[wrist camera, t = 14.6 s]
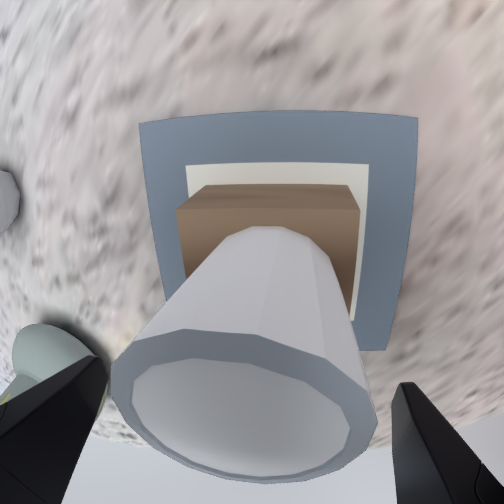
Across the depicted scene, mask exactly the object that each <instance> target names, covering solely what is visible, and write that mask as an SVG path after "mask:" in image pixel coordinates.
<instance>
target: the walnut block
mask: <svg viewBox="0 0 504 504" xmlns="http://www.w3.org/2000/svg"><path fill="white" fill-rule="evenodd" d="M176 216H177V223H178V230H179V237H180V244H181V250H182V257H183V263H184V269H185V275H186V280H187V279H188V278H189V277H190V276H191V274H192V273H193V272H194V271H195V270H196V269H197V268H198V267H199V266H200V265H201V263H202V262H203V261H204V260H205V259H206V258H207V257H208V256H209V255H210V254H211V253H212V252H213V251H214V249H215V248H216V247H217V246H218V245H219V244H220V243H221V242H222V241H223V240H224V239H225V238H226V237H227V236H229V235H232V234H234V233H237V232H239V231H242V230H244V229H247V228H249V227H252V226H280V227H284V228H287V229H289V230H292V231H294V232H297V233H299V234H302V235H304V236H307V237H309V238H310V239H311V240H312V241H313V242H314V243H315V244H316V245H317V246H318V247H319V248H320V249H321V250H322V251H324V252H325V253H326V254H327V255H328V256H329V258H330V261H331V264H332V266H333V269H334V271H335V274H336V277H337V279H338V282H339V285H340V288H341V291H342V295H343V298H344V301H345V304H346V307H347V311H348V314H349V317H350V309H351V302H352V294H353V286H354V278H355V268H356V259H357V248H358V237H359V224H360V208H359V206H358V204H357V202H356V200H355V198H354V196H353V195H352V193H351V191H350V189H349V187H348V185H335V184H225V185H205V186H204V187H203V188H201V189H200V190H199V191H197V192H196V193H195V194H194V195H193V196H191V197H190V198H189V199H188V200H186V201H185V202H184V203H183V204H181V205H180V206H179V207H178V208H177V209H176Z"/></svg>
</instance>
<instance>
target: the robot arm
mask: <svg viewBox="0 0 504 504" xmlns="http://www.w3.org/2000/svg"><path fill="white" fill-rule="evenodd" d="M108 379H109V375H108V372H107V370H106V368H105V366H104V363H103V361H102V359H101V358H100V357H98V356H94V355H87V356H85V357H84V358H82V359H80V360H78V361H77V362H75V363H73V364H72V365H70V366H68V367H66V368H65V369H63V370H61V371H59V372H58V373H56V374H54V375H52V376H51V377H49V378H47V379H45V380H44V381H42V382H40V383H38V384H37V385H35V386H33V387H31V388H30V389H28V390H26V391H24V392H23V393H21V394H19V395H17V396H16V397H14V398H12V399H10V400H9V401H8V402H5V403H3V404H1V405H0V504H61V503H62V500H63V497H64V495H65V492H66V489H67V487H68V484H69V482H70V479H71V476H72V474H73V471H74V469H75V466H76V464H77V461H78V459H79V457H80V454H81V452H82V449H83V447H84V445H85V442H86V440H87V438H88V435H89V433H90V431H91V428H92V426H93V424H94V421H95V419H96V416H97V413H98V411H99V407H100V404H101V401H102V398H103V395H104V392H105V389H106V386H107V383H108ZM391 412H392V455H393V465H394V474H395V484H396V495H397V504H504V487H503V486H502V485H501V484H500V483H499V482H498V480H497V479H496V478H495V477H494V476H493V475H492V474H491V472H490V471H489V470H488V469H487V468H486V466H485V465H484V464H483V463H482V464H481V460H480V459H479V458H478V457H477V455H476V454H475V453H474V452H473V451H472V449H471V448H470V447H469V446H468V445H467V443H466V442H465V441H464V440H463V439H462V438H461V436H460V435H459V434H458V433H457V431H456V430H455V429H454V428H453V427H452V426H451V424H450V423H449V422H448V421H447V420H446V419H445V417H444V416H443V415H442V414H441V413H440V412H439V410H438V409H437V408H436V407H435V406H434V405H433V404H432V402H431V401H430V400H429V399H428V398H427V397H426V395H425V394H424V393H423V392H422V391H421V390H420V389H419V387H418V386H417V385H416V384H415V383H413V382H403V383H400V384H399V385H398V388H397V390H396V393H395V395H394V398H393V400H392V405H391Z"/></svg>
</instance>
